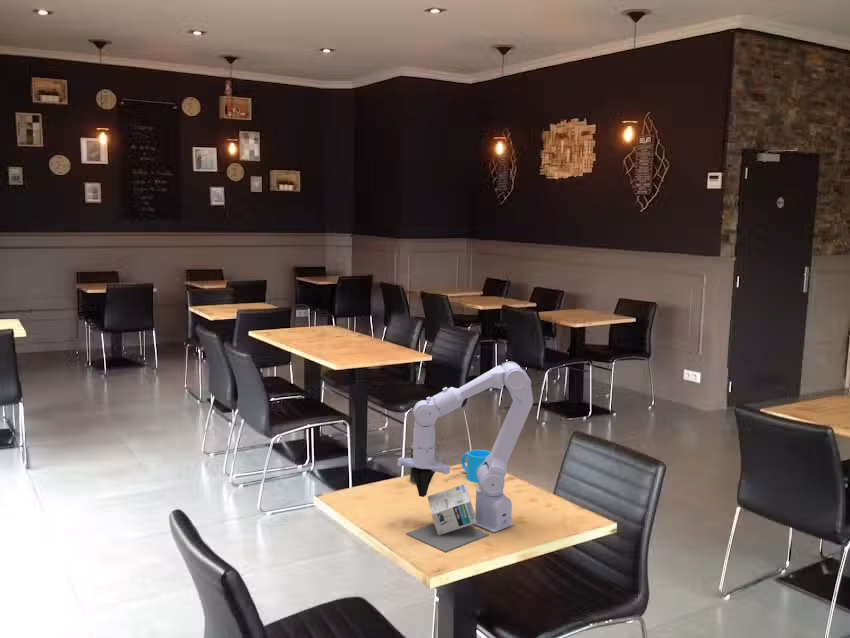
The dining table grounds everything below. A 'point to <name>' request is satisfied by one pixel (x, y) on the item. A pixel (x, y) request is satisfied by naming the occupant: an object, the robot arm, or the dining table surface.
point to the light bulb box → (451, 509)
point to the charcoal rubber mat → (447, 537)
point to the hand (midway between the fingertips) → (422, 495)
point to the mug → (473, 463)
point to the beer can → (411, 467)
